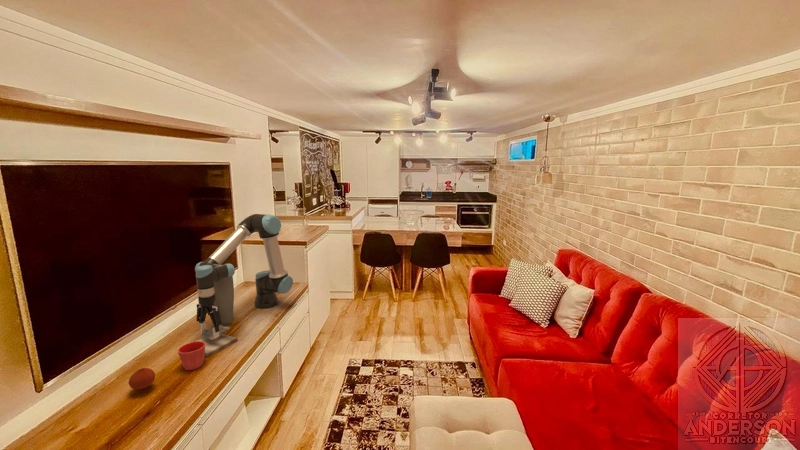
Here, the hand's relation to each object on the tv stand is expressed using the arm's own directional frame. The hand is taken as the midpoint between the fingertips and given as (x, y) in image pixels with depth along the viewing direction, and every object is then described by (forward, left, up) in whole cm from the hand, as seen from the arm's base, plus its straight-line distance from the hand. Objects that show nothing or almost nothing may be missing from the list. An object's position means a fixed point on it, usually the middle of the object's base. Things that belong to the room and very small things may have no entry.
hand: (210, 335), depth 171 cm
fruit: (+35, +4, -6) cm, 36 cm away
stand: (0, 0, -6) cm, 6 cm away
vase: (-21, -16, -6) cm, 27 cm away
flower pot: (+16, +9, -6) cm, 19 cm away
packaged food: (0, +2, -4) cm, 4 cm away
